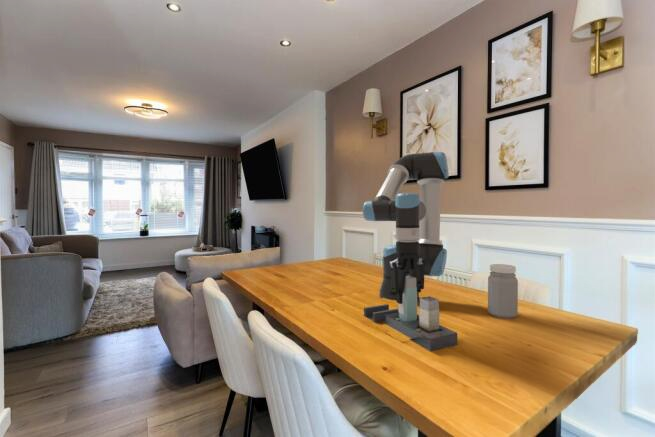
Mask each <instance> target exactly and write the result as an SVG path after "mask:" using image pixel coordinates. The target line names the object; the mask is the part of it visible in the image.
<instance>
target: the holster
mask: <svg viewBox="0 0 655 437" xmlns="http://www.w3.org/2000/svg"><path fill="white" fill-rule="evenodd" d="M393 313H398V308H391V309H390V305H389V304H388V303H385V304H378V305H372V306H366V307H363V317H365V318H367V320H370V321H372V323H375V324H377V323H382V322H385V315H387V314H393Z"/></svg>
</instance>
